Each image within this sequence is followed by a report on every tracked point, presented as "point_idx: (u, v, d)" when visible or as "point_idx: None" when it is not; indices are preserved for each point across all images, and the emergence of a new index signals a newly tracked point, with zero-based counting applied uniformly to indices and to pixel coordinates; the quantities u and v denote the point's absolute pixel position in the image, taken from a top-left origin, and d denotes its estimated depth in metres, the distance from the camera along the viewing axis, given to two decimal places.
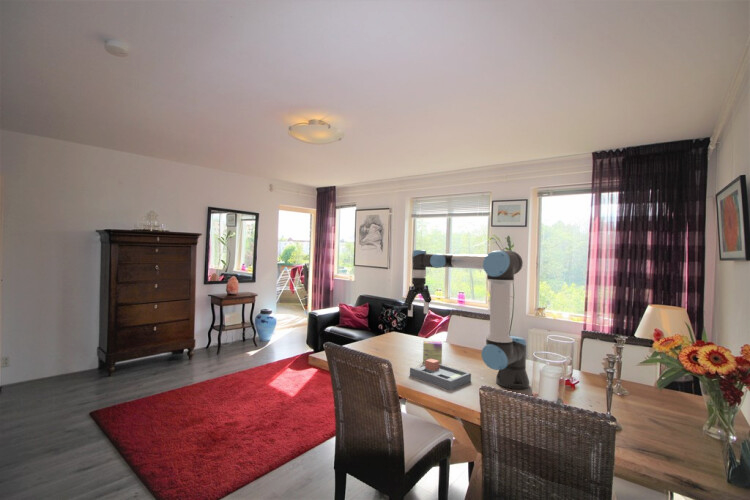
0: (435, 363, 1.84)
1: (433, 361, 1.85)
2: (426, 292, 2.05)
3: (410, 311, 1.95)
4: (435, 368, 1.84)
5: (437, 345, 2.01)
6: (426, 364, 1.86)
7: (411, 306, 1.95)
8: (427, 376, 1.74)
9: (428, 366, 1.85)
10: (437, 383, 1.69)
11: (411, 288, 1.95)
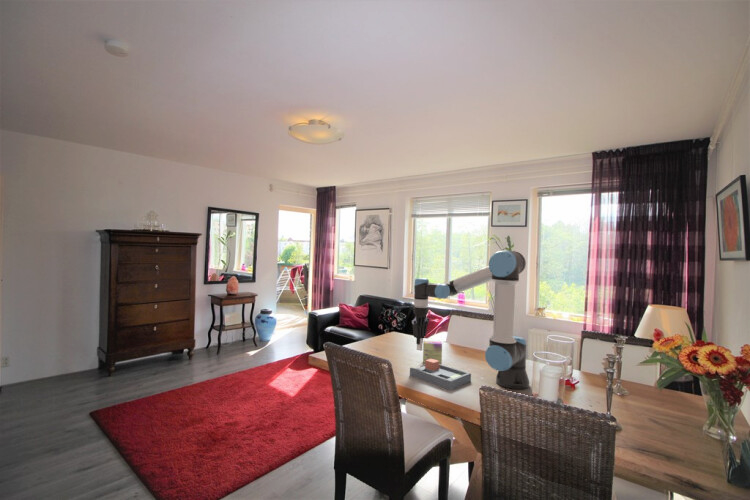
0: (435, 363, 1.84)
1: (433, 361, 1.85)
2: (424, 325, 1.95)
3: (419, 345, 1.92)
4: (435, 368, 1.84)
5: (437, 345, 2.01)
6: (426, 364, 1.86)
7: (420, 340, 1.92)
8: (427, 376, 1.74)
9: (428, 366, 1.85)
10: (437, 383, 1.69)
11: (413, 323, 1.89)
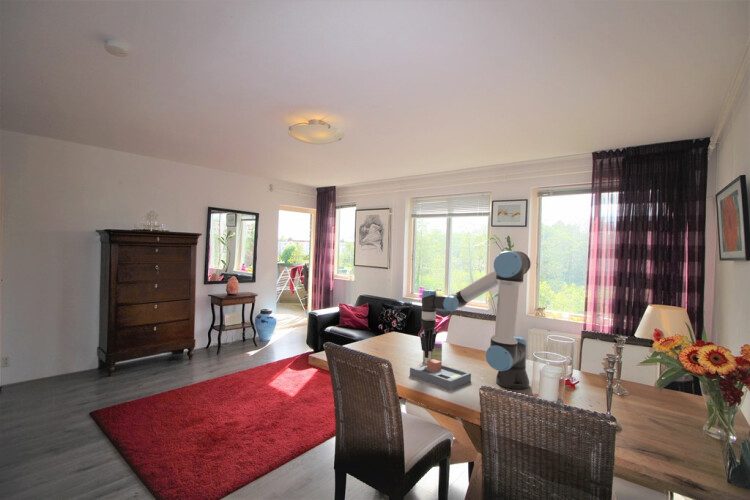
0: (437, 363, 1.83)
1: (435, 362, 1.84)
2: (433, 337, 1.91)
3: (427, 358, 1.88)
4: (437, 369, 1.83)
5: (437, 345, 2.01)
6: (428, 365, 1.85)
7: (428, 353, 1.87)
8: (427, 376, 1.74)
9: (429, 367, 1.84)
10: (437, 383, 1.69)
11: (422, 336, 1.84)
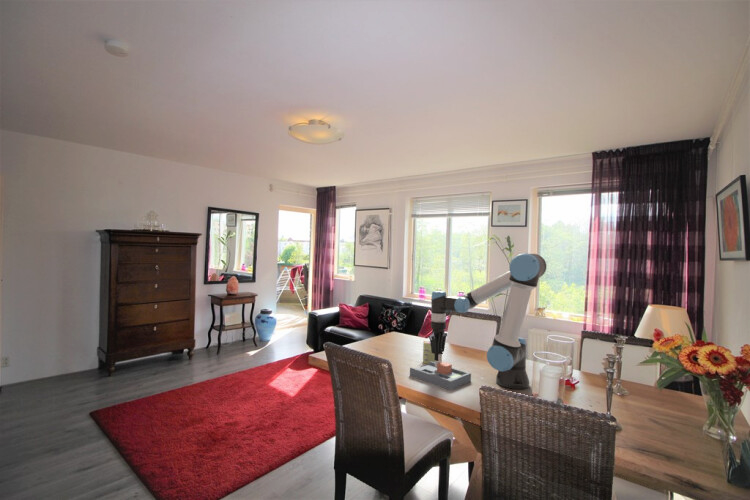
0: (447, 367, 1.78)
1: (445, 365, 1.79)
2: None
3: (437, 361, 1.83)
4: (447, 372, 1.78)
5: None
6: (438, 368, 1.80)
7: (438, 356, 1.83)
8: (427, 376, 1.74)
9: (440, 370, 1.80)
10: (437, 383, 1.69)
11: (431, 338, 1.80)
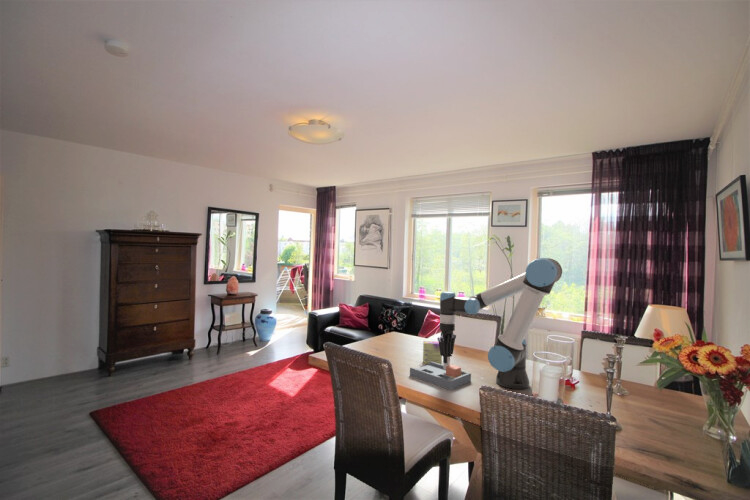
0: (456, 369, 1.74)
1: (454, 367, 1.75)
2: (451, 342, 1.82)
3: (446, 364, 1.79)
4: (457, 375, 1.74)
5: (437, 345, 2.01)
6: (447, 371, 1.76)
7: (447, 359, 1.79)
8: (427, 376, 1.74)
9: (449, 373, 1.76)
10: (437, 383, 1.69)
11: (440, 340, 1.76)
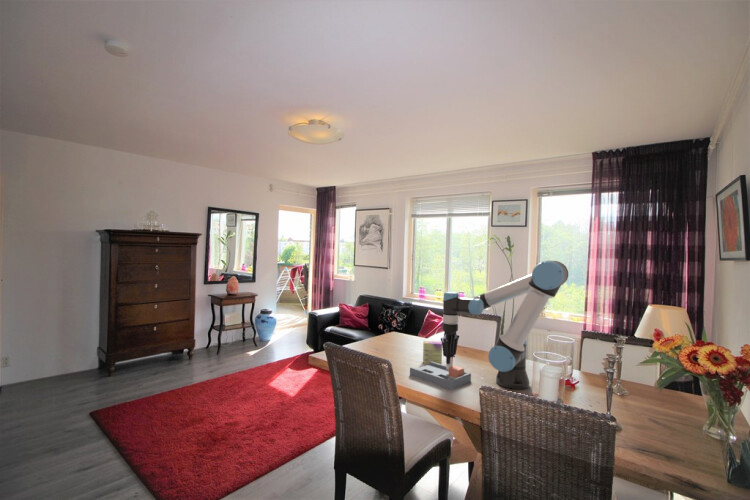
0: (459, 370, 1.73)
1: (457, 368, 1.74)
2: None
3: (449, 365, 1.78)
4: None
5: (437, 345, 2.01)
6: (450, 372, 1.75)
7: (450, 359, 1.77)
8: (427, 376, 1.74)
9: (452, 374, 1.74)
10: (437, 383, 1.69)
11: (443, 341, 1.74)
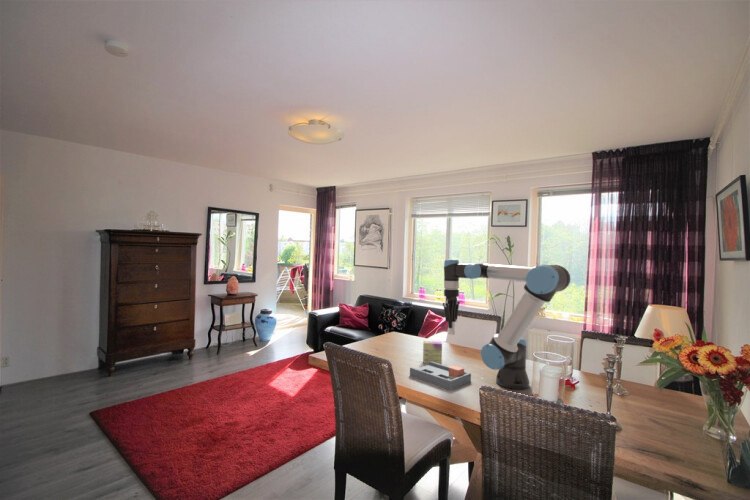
0: (459, 370, 1.73)
1: (457, 368, 1.74)
2: (455, 308, 1.88)
3: (451, 329, 1.84)
4: None
5: (437, 345, 2.01)
6: (450, 372, 1.75)
7: (452, 324, 1.84)
8: (427, 376, 1.74)
9: (452, 374, 1.74)
10: (437, 383, 1.69)
11: (446, 305, 1.81)
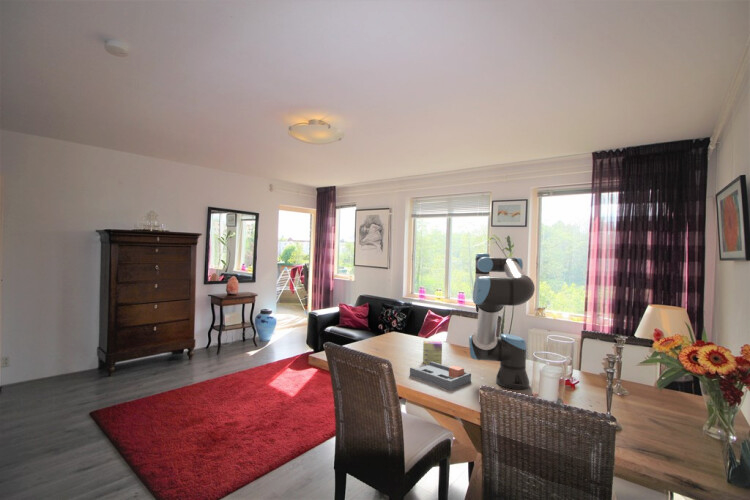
0: (459, 370, 1.73)
1: (457, 368, 1.74)
2: None
3: None
4: None
5: (437, 345, 2.01)
6: (450, 372, 1.75)
7: None
8: (427, 376, 1.74)
9: (452, 374, 1.74)
10: (437, 383, 1.69)
11: None
